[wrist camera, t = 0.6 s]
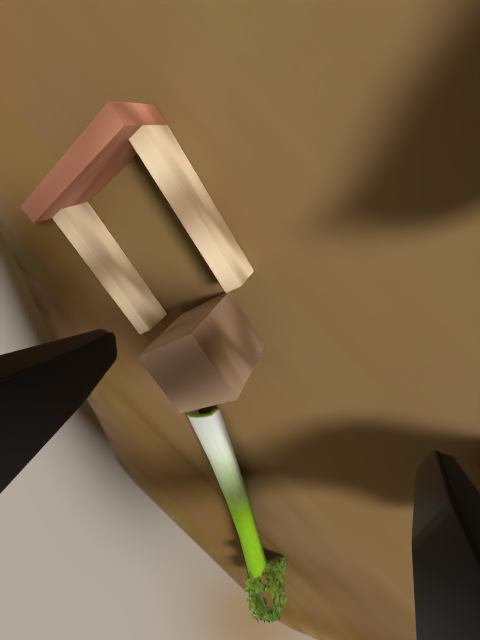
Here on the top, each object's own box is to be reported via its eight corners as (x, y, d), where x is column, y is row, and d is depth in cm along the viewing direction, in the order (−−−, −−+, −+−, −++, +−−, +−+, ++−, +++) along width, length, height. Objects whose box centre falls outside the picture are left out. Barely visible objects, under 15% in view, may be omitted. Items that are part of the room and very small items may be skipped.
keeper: (264, 345, 24) (237, 399, 20) (215, 362, 27) (180, 413, 22) (230, 290, 23) (191, 333, 18) (182, 313, 26) (137, 356, 21)
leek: (247, 389, 30) (305, 588, 41) (191, 383, 34) (256, 567, 44) (211, 435, 26) (286, 647, 36) (151, 422, 30) (234, 617, 40)
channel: (253, 270, 22) (232, 296, 18) (157, 318, 27) (127, 345, 24) (155, 104, 19) (109, 101, 15) (68, 195, 24) (20, 206, 21)
